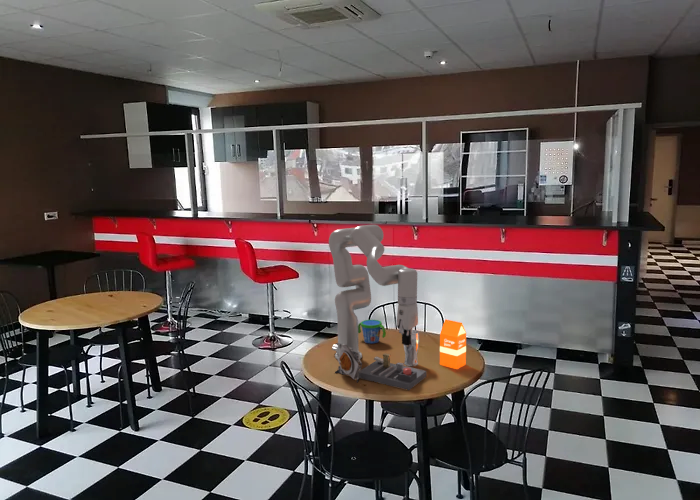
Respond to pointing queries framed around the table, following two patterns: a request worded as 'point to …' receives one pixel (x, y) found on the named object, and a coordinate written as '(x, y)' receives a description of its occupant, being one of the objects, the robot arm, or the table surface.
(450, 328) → the orange juice
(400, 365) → the steel slider
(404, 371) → the button
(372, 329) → the snack cup
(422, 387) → the table surface
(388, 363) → the brass slider
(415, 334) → the beer glass
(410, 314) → the robot arm
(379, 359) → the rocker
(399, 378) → the panel
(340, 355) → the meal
